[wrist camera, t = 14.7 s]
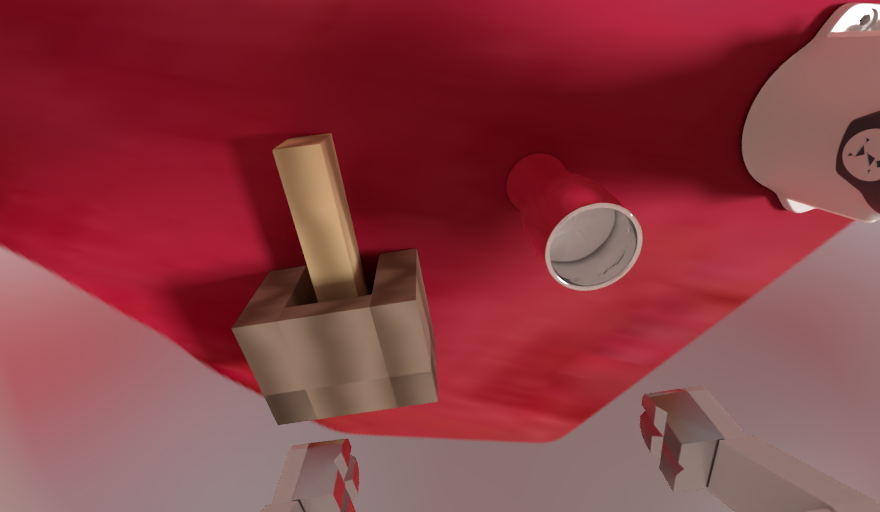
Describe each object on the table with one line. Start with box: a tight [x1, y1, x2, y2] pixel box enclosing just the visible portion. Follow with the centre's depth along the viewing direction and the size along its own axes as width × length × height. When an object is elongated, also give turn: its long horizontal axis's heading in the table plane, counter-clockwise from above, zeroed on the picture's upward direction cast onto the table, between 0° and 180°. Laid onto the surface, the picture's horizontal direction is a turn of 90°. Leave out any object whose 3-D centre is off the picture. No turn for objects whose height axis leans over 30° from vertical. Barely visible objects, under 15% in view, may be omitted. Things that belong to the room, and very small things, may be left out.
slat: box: [272, 133, 369, 303], centre depth 40 cm, size 4×18×5 cm, turn 7°
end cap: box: [231, 248, 438, 425], centre depth 42 cm, size 16×12×10 cm
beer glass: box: [506, 153, 643, 291], centre depth 34 cm, size 7×7×15 cm
